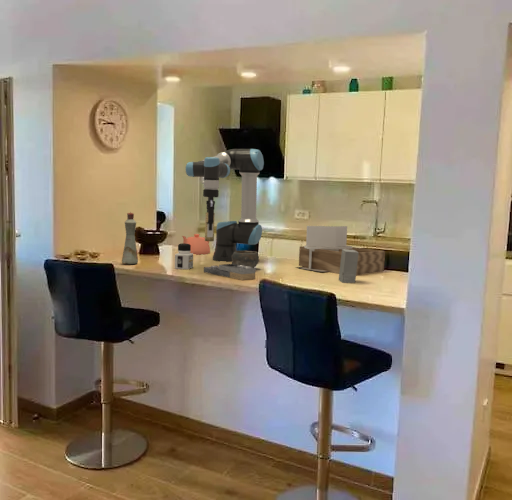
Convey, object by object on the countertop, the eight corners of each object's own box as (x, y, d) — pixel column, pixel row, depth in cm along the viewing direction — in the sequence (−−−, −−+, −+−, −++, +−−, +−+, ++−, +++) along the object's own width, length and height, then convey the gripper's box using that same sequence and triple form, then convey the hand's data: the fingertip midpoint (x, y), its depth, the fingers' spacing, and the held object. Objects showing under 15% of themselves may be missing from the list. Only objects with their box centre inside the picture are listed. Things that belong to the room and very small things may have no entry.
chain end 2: (231, 274, 288) (232, 262, 287) (255, 279, 275) (256, 266, 274) (218, 275, 282) (219, 263, 282) (242, 280, 269) (243, 267, 268)
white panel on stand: (329, 264, 335) (330, 224, 333) (356, 268, 319) (358, 226, 317) (294, 267, 318) (295, 225, 315) (321, 271, 301) (323, 227, 299)
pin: (213, 240, 285) (214, 212, 284) (214, 241, 281) (215, 212, 280) (204, 240, 285) (205, 212, 283) (205, 241, 280) (206, 212, 279)
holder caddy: (332, 264, 341) (333, 244, 340) (383, 272, 314) (385, 251, 313) (298, 267, 321) (299, 246, 320) (350, 276, 294) (351, 253, 293)
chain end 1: (216, 270, 297) (216, 264, 296) (242, 276, 282) (243, 269, 281) (203, 272, 291) (204, 265, 291) (229, 277, 276) (229, 270, 276)
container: (188, 269, 298) (189, 244, 296) (174, 268, 299) (174, 243, 298) (193, 267, 305) (193, 243, 304) (179, 266, 307) (179, 242, 305)
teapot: (191, 257, 348) (191, 235, 347) (171, 255, 358) (172, 233, 357) (218, 255, 368) (218, 234, 367) (198, 252, 378) (199, 232, 377)
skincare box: (338, 281, 278) (339, 248, 276) (352, 281, 279) (354, 249, 277) (342, 284, 270) (344, 250, 268) (357, 284, 270) (359, 251, 269)
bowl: (261, 269, 308) (262, 251, 307) (252, 273, 293) (253, 253, 292) (237, 267, 312) (238, 249, 311) (227, 271, 298) (227, 251, 297)
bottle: (117, 263, 309) (118, 211, 306) (127, 262, 318) (128, 211, 315) (131, 265, 306) (132, 212, 303) (141, 263, 314) (142, 212, 312)
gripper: (202, 188, 288) (200, 234, 291) (204, 188, 271) (203, 237, 274) (217, 189, 289) (215, 235, 292) (220, 189, 272) (218, 238, 275)
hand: (209, 236), depth 283 cm, fingers closed on pin, 4 cm apart
